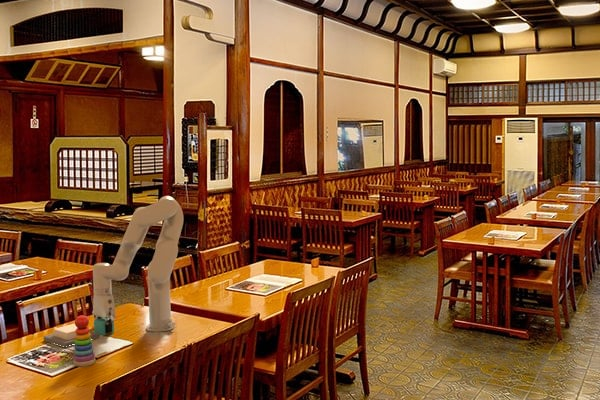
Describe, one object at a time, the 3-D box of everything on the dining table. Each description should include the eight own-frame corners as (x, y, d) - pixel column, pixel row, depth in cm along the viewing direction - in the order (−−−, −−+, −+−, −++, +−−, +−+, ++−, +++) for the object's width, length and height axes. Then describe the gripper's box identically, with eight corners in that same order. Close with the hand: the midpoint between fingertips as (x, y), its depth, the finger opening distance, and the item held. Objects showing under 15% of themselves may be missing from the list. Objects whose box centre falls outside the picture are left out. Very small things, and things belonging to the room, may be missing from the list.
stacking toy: (76, 360, 236) (74, 312, 234) (97, 359, 237) (95, 312, 235) (70, 367, 228) (68, 318, 226) (92, 366, 229) (90, 317, 227)
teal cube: (114, 332, 271) (113, 319, 271) (102, 335, 267) (102, 322, 266) (106, 330, 275) (105, 317, 274) (94, 333, 270) (93, 320, 270)
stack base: (98, 338, 263) (98, 326, 263) (65, 348, 251) (64, 336, 250) (77, 331, 273) (76, 320, 273) (43, 340, 260) (43, 329, 260)
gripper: (122, 292, 267) (123, 332, 269) (98, 287, 277) (99, 326, 279) (107, 295, 261) (108, 337, 263) (83, 290, 271) (85, 330, 273)
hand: (104, 331), depth 271 cm, fingers closed on teal cube, 6 cm apart
